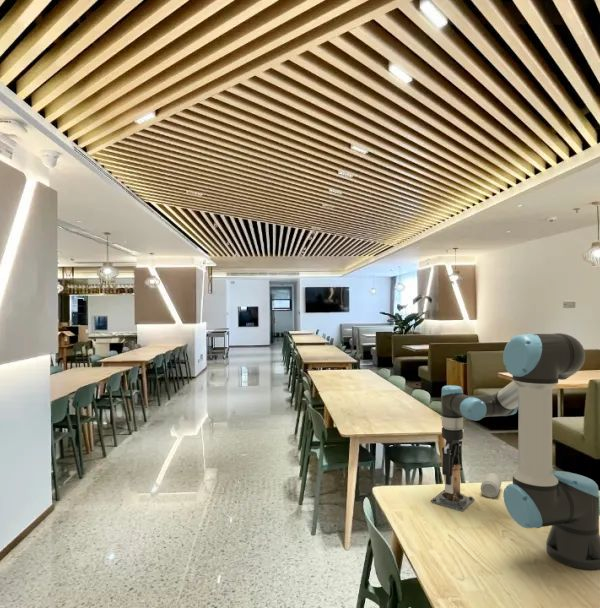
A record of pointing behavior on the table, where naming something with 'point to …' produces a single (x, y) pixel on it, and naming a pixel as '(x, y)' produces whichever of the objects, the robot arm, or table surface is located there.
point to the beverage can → (491, 485)
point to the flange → (453, 501)
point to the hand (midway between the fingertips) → (452, 489)
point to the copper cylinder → (455, 483)
